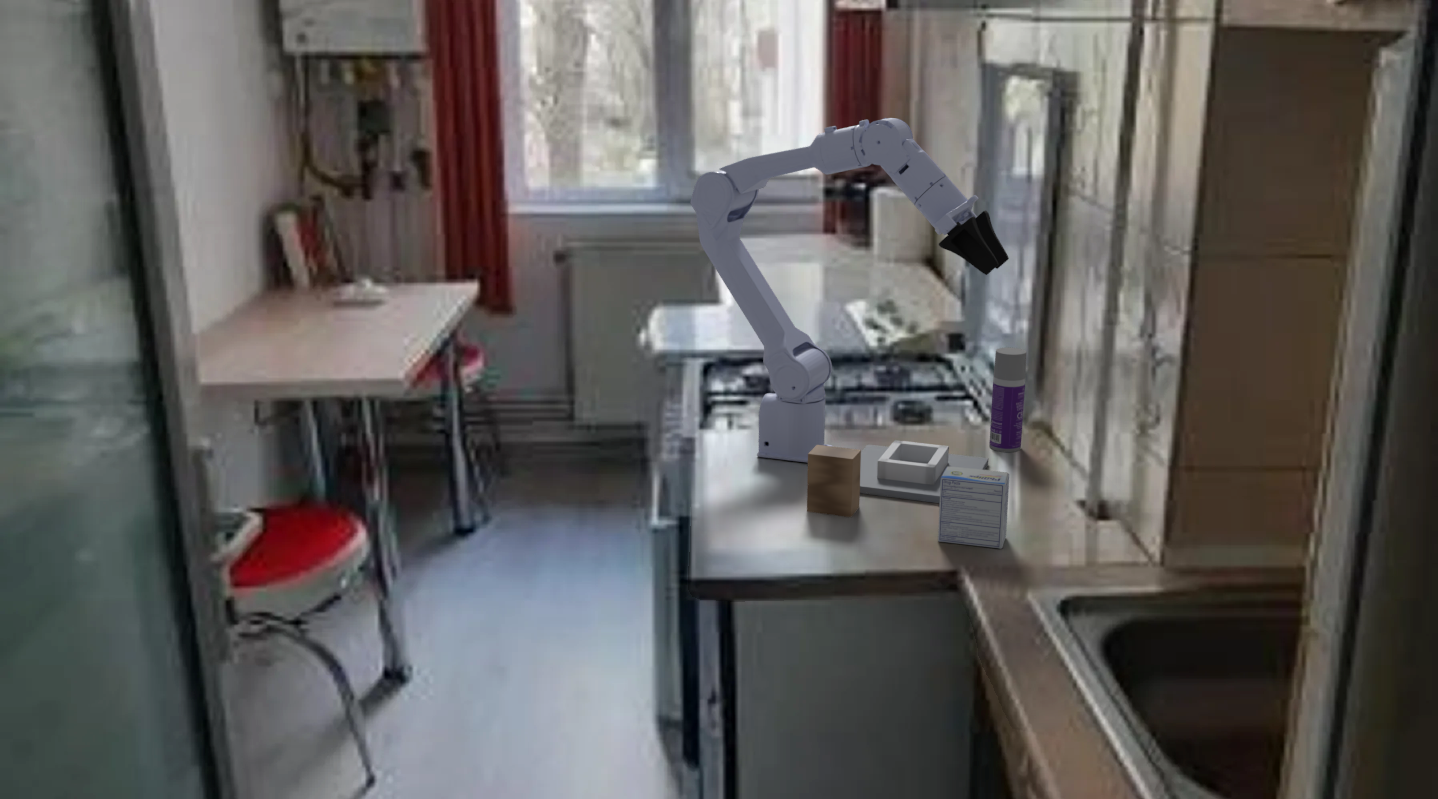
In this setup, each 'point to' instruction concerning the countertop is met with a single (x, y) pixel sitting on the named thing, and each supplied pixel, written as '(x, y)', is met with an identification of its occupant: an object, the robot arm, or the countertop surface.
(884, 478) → the socket plate
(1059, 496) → the countertop surface
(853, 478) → the walnut peg
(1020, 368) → the container
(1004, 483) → the medicine box
